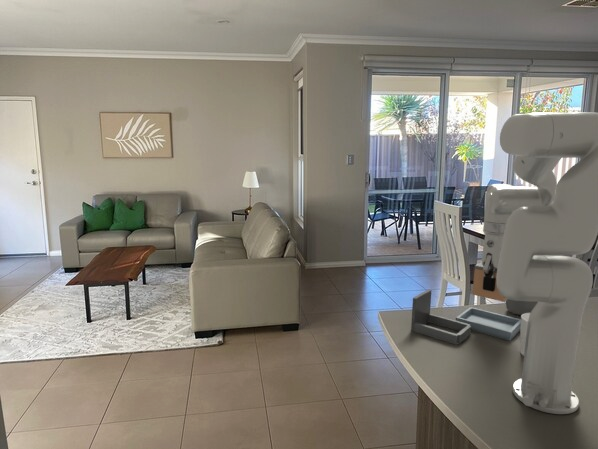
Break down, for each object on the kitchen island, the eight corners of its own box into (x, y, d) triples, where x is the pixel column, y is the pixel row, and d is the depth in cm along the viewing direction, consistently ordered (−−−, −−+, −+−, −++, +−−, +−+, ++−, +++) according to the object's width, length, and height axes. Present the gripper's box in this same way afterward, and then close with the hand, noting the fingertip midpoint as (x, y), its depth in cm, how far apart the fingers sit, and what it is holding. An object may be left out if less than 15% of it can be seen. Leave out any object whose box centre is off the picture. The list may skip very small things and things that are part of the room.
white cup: (555, 354, 116) (559, 318, 114) (546, 365, 110) (551, 327, 108) (522, 344, 121) (526, 310, 119) (513, 354, 115) (517, 318, 113)
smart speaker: (535, 321, 137) (540, 277, 134) (502, 314, 142) (507, 272, 139) (537, 311, 145) (542, 270, 142) (507, 305, 150) (511, 265, 147)
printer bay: (458, 345, 121) (460, 310, 119) (411, 330, 130) (412, 297, 128) (471, 333, 128) (474, 300, 126) (426, 320, 137) (428, 289, 135)
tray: (510, 340, 123) (510, 332, 123) (455, 325, 133) (455, 317, 133) (522, 327, 132) (523, 320, 131) (469, 314, 142) (470, 306, 141)
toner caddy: (504, 302, 126) (507, 271, 124) (472, 294, 132) (475, 265, 130) (509, 297, 130) (512, 267, 128) (478, 290, 136) (481, 261, 134)
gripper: (501, 234, 118) (495, 298, 122) (520, 224, 131) (514, 283, 134) (473, 230, 123) (468, 292, 127) (494, 221, 135) (488, 278, 139)
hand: (491, 287), depth 130 cm, fingers closed on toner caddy, 5 cm apart
